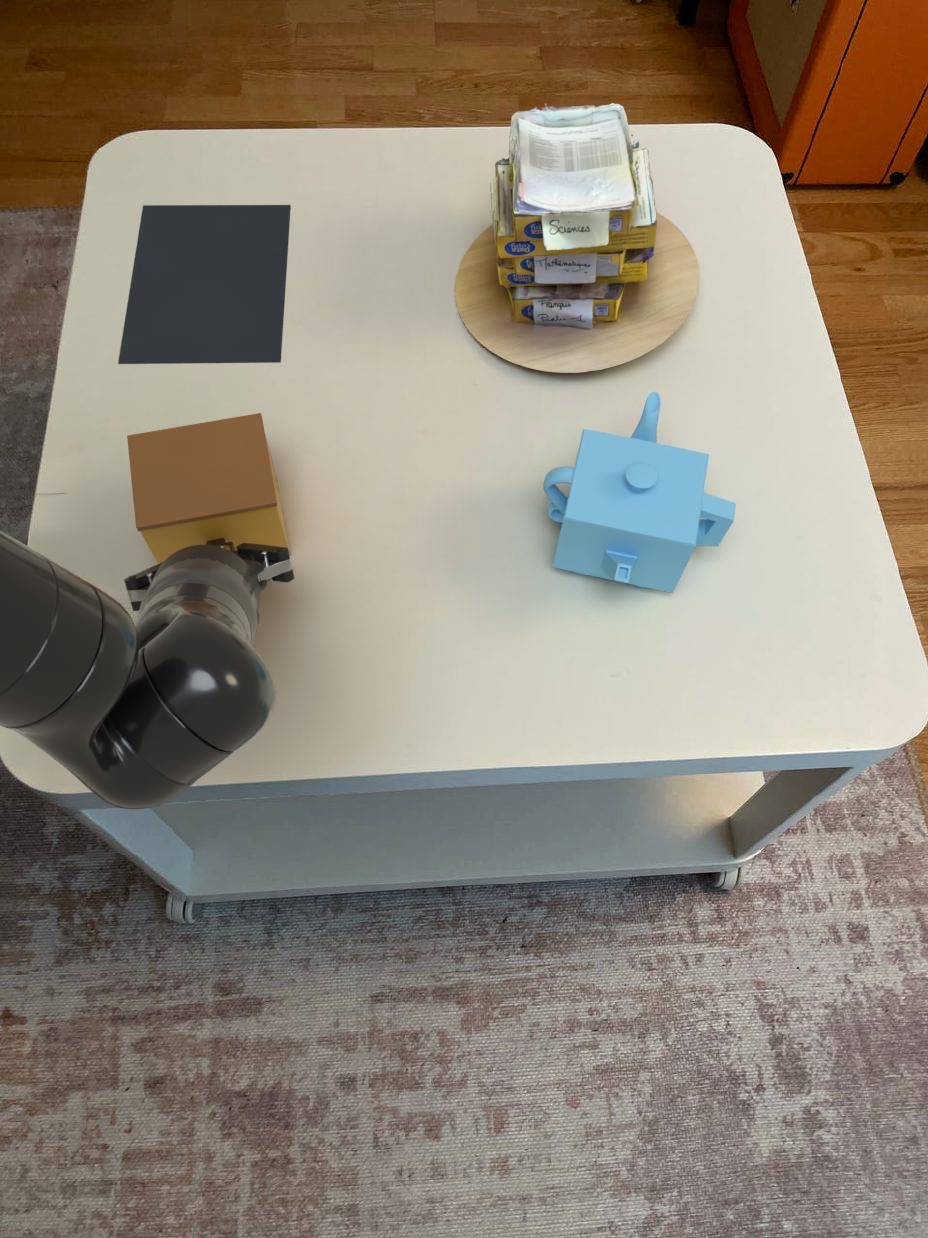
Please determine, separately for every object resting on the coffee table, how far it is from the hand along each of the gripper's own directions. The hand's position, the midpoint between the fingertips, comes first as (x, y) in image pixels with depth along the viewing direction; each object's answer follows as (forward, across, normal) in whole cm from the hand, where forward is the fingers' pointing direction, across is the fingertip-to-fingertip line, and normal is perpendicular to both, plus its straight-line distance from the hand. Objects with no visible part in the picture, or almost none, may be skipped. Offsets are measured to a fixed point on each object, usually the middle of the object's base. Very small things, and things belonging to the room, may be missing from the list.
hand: (218, 550), depth 79 cm
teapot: (0, -35, +6) cm, 36 cm away
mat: (+28, -2, -22) cm, 35 cm away
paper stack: (+21, -39, -15) cm, 47 cm away
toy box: (+6, 0, -1) cm, 7 cm away
